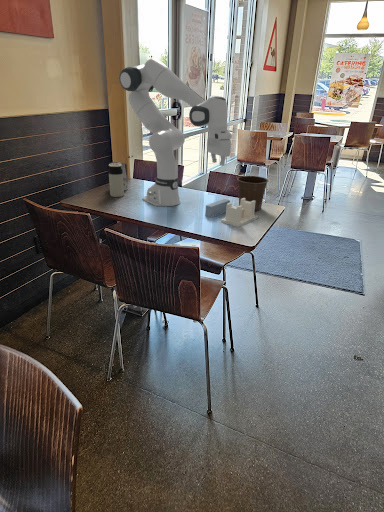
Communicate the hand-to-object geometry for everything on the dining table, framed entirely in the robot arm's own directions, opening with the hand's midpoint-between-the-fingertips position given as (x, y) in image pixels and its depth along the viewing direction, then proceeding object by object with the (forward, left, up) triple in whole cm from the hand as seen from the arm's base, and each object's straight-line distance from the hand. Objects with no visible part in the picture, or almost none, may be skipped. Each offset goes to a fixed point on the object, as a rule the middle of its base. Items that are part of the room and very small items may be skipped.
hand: (218, 163), depth 168 cm
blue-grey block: (0, +3, -26) cm, 26 cm away
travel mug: (-61, -15, -26) cm, 69 cm away
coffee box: (-71, -5, -26) cm, 76 cm away
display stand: (+14, +3, -26) cm, 29 cm away
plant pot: (+7, +23, -26) cm, 35 cm away
